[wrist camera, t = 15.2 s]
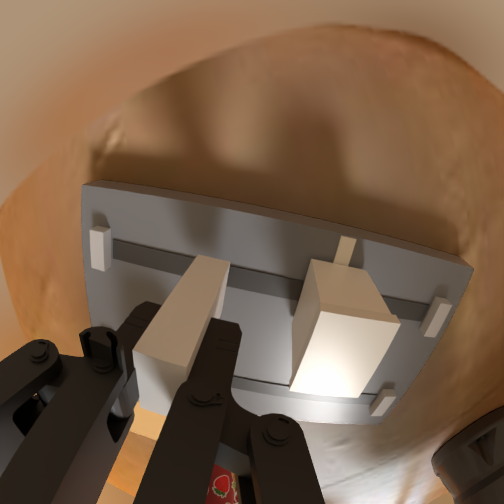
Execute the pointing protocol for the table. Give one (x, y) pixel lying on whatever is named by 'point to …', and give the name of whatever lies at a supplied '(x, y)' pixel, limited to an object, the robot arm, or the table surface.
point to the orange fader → (147, 422)
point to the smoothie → (221, 487)
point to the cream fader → (338, 331)
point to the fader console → (265, 286)
